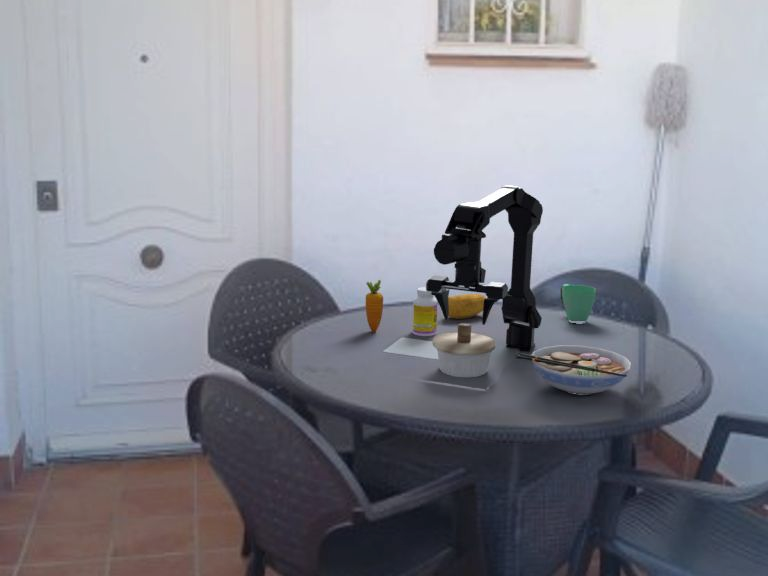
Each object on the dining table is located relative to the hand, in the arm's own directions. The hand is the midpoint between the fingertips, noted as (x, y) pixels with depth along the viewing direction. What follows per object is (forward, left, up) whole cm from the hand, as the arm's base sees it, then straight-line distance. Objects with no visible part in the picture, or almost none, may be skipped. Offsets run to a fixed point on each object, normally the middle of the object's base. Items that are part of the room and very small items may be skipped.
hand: (465, 322), depth 221 cm
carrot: (+32, -21, -13) cm, 40 cm away
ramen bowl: (-28, +1, -13) cm, 31 cm away
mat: (+14, -12, -13) cm, 22 cm away
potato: (+14, -48, -13) cm, 52 cm away
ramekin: (0, 0, -13) cm, 13 cm away
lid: (0, 0, -6) cm, 6 cm away
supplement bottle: (+19, -26, -13) cm, 35 cm away
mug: (-16, -60, -13) cm, 63 cm away
